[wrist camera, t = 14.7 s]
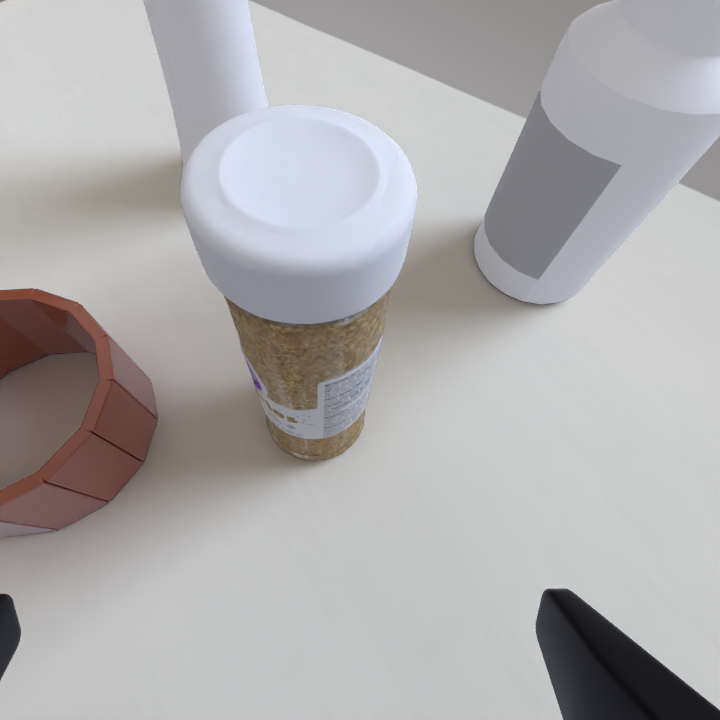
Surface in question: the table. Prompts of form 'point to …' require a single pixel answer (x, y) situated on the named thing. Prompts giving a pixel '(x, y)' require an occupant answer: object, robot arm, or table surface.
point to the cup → (100, 425)
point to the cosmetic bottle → (206, 63)
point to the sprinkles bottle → (303, 258)
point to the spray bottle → (602, 143)
